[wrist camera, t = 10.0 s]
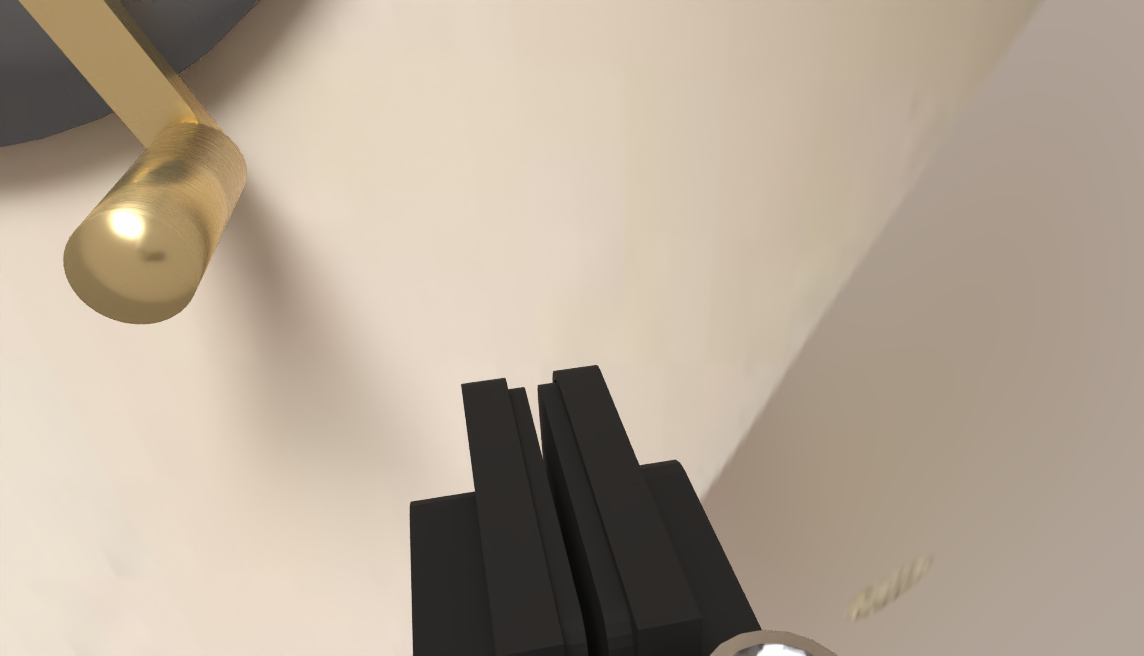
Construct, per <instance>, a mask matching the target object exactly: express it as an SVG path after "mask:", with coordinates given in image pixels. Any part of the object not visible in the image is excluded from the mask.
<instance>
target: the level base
mask: <svg viewBox="0 0 1144 656" xmlns="http://www.w3.org/2000/svg"><path fill="white" fill-rule="evenodd" d="M258 1H259V0H119V2H120V3H121V4H122V5H123V7H124V8H125V9H126V10H127V12H128V13H129V14H130V16H131V17H132V18H133V19H134V21H135V22H136V23H137V24H138V26H139V27H140V28H141V29H142V31H143V32H144V33H145V34H146V36H147V37H148V38H149V39H150V41H151V42H152V43H153V45H154V46H155V47H156V48H157V50H158V51H159V52H160V53H161V55H162V56H163V57H164V58H165V60H166V61H167V62H168V63H169V65H170V66H171V67H172V68H173V70H174V71H175V72H176V74H179V73H180V72H181V71H183V70H184V69H185V68H187V67H188V66H189V65H191V64H192V63H194V62H195V61H196V60H198V59H199V58H200V57H202V56H203V55H204V54H206V53H207V52H208V51H209V50H210V49H211V48H212V47H213V46H214V45H215V44H216V43H217V42H218V41H219V40H220V39H221V38H222V37H223V36H224V35H225V34H226V33H227V32H228V31H229V30H230V29H231V28H232V27H233V26H234V25H235V24H236V23H237V22H238V21H239V20H240V19H241V18H242V17H243V16H244V15H245V14H246V13H247V12H248V11H249V10H250V9H251V8H252V7H253V6H254V5H255V4H256V3H257V2H258ZM112 112H114V111H113V110H112V109H111V107H110V106H109V105H108V104H107V103H106V102H105V100H104V99H103V98H102V97H101V96H100V95H99V93H98V92H97V91H96V90H95V89H94V88H93V86H92V85H91V84H90V83H89V82H88V81H87V79H86V78H85V77H84V76H83V75H82V74H81V72H80V71H79V70H78V69H77V68H76V67H75V65H74V64H73V63H72V62H71V61H70V60H69V58H68V57H67V56H66V55H65V54H64V53H63V52H62V50H61V49H60V48H59V47H58V46H57V45H56V43H55V42H54V41H53V40H52V39H51V38H50V36H49V35H48V34H47V33H46V32H45V31H44V29H43V28H42V27H41V26H40V25H39V24H38V22H37V21H36V20H35V19H34V18H33V17H32V15H31V14H30V13H29V12H28V11H27V10H26V8H25V7H24V6H23V5H22V4H21V3H20V1H19V0H0V147H4V146H9V145H13V144H18V143H23V142H28V141H33V140H38V139H43V138H45V137H48V136H51V135H54V134H57V133H60V132H63V131H65V130H68V129H71V128H74V127H77V126H80V125H83V124H85V123H88V122H91V121H94V120H97V119H100V118H102V117H104V116H106V115H108V114H110V113H112Z"/></svg>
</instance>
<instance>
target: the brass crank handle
mask: <svg viewBox="0 0 1144 656" xmlns="http://www.w3.org/2000/svg"><path fill="white" fill-rule="evenodd" d="M19 1H20V3H21V4H22V5H23V6H24V7H25V8H26V10H27V11H28V12H29V13H30V14H31V15H32V17H33V18H34V19H35V20H36V21H37V22H38V24H39V25H40V26H41V27H42V28H43V29H44V31H45V32H46V33H47V34H48V35H49V36H50V38H51V39H52V40H53V41H54V42H55V43H56V45H57V46H58V47H59V48H60V49H61V50H62V52H63V53H64V54H65V55H66V56H67V57H68V58H69V60H70V61H71V62H72V63H73V64H74V65H75V67H76V68H77V69H78V70H79V71H80V72H81V74H82V75H83V76H84V77H85V78H86V79H87V81H88V82H89V83H90V84H91V85H92V86H93V88H94V89H95V90H96V91H97V92H98V93H99V95H100V96H101V97H102V98H103V99H104V100H105V102H106V103H107V104H108V105H109V106H110V107H111V109H112V110H113V111H114V112H115V113H116V114H117V116H118V117H119V118H120V119H121V120H122V121H123V123H124V124H125V125H126V126H127V127H128V128H129V129H130V131H131V132H132V133H133V134H134V135H135V136H136V138H137V139H138V140H139V141H140V142H141V143H142V145H143V146H144V147H145V148H146V150H145V151H144V153H143V154H142V155H141V156H140V157H139V158H138V159H137V160H136V162H135V163H134V164H133V165H132V166H131V167H130V168H129V170H128V171H127V172H126V173H125V174H124V175H123V176H122V178H121V179H120V180H119V181H118V182H117V183H116V184H115V186H114V187H113V188H112V189H111V190H110V191H109V192H108V194H107V195H106V196H105V197H104V198H103V199H102V200H101V202H100V203H99V204H98V205H97V206H96V207H95V208H94V210H93V211H92V212H91V213H90V214H89V215H88V216H87V218H86V219H85V220H84V221H83V222H82V223H81V224H80V226H79V227H78V228H77V229H76V230H75V231H74V233H73V234H72V235H71V237H70V238H69V240H68V242H67V244H66V247H65V251H64V258H63V260H64V269H65V274H66V277H67V279H68V282H69V284H70V285H71V287H72V289H73V290H74V292H75V293H76V294H77V296H78V297H79V298H80V299H81V300H82V301H83V302H84V303H85V304H87V305H88V306H89V307H90V308H92V309H93V310H95V311H96V312H98V313H100V314H102V315H103V316H106V317H108V318H110V319H113V320H116V321H120V322H124V323H130V324H151V323H157V322H161V321H164V320H167V319H169V318H171V317H173V316H175V315H176V314H178V313H179V312H181V311H182V310H183V309H184V308H185V307H186V306H187V305H188V304H189V302H190V301H191V299H192V298H193V296H194V294H195V292H196V290H197V287H198V285H199V283H200V281H201V279H202V277H203V275H204V272H205V270H206V268H207V266H208V264H209V262H210V260H211V257H212V255H213V253H214V251H215V249H216V247H217V245H218V242H219V240H220V238H221V236H222V234H223V232H224V230H225V228H226V225H227V223H228V221H229V219H230V217H231V215H232V213H233V210H234V208H235V206H236V204H237V202H238V200H239V198H240V195H241V193H242V191H243V189H244V186H245V183H246V179H247V169H246V164H245V160H244V158H243V155H242V153H241V151H240V150H239V148H238V147H237V145H236V144H235V143H234V142H233V141H232V140H231V139H230V138H229V137H228V136H226V135H225V134H224V133H223V131H222V130H221V129H220V128H219V126H218V125H217V124H216V123H215V121H214V120H213V119H212V118H211V116H210V115H209V114H208V113H207V111H206V110H205V109H204V108H203V106H202V105H201V104H200V102H199V101H198V100H197V99H196V97H195V96H194V95H193V94H192V92H191V91H190V90H189V89H188V87H187V86H186V85H185V84H184V82H183V81H182V80H181V79H180V77H179V76H178V75H177V74H176V72H175V71H174V70H173V68H172V67H171V66H170V65H169V63H168V62H167V61H166V60H165V58H164V57H163V56H162V55H161V53H160V52H159V51H158V50H157V48H156V47H155V46H154V45H153V43H152V42H151V41H150V39H149V38H148V37H147V36H146V34H145V33H144V32H143V31H142V29H141V28H140V27H139V26H138V24H137V23H136V22H135V21H134V19H133V18H132V17H131V16H130V14H129V13H128V12H127V10H126V9H125V8H124V7H123V5H122V4H121V3H120V2H119V0H19Z"/></svg>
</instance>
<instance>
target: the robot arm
mask: <svg viewBox="0 0 1144 656" xmlns="http://www.w3.org/2000/svg"><path fill="white" fill-rule="evenodd" d="M461 387H462V395H463V403H464V410H465V418H466V426H467V433H468V441H469V449H470V456H471V464H472V472H473V479H474V487H475V492H469V493H463V494H457V495H450V496H444V497H438V498H431V499H425V500H419V501H413V502H411V503H410V547H411V589H412V631H413V656H837V655H836V654H835V653H834V652H832V651H830V650H829V649H827V648H826V647H824V646H822V645H821V644H819V643H817V642H815V641H814V640H812V639H809V638H806V637H803V636H800V635H797V634H794V633H790V632H785V631H773V630H762V629H761V627H760V625H759V623H758V621H757V619H756V617H755V615H754V613H753V611H752V609H751V607H750V605H749V602H748V600H747V598H746V596H745V594H744V592H743V590H742V588H741V586H740V584H739V582H738V580H737V578H736V576H735V574H734V571H733V570H732V567H731V565H730V563H729V561H728V559H727V557H726V555H725V553H724V551H723V549H722V546H721V545H720V542H719V540H718V538H717V536H716V534H715V532H714V530H713V528H712V526H711V524H710V522H709V520H708V517H707V515H706V513H705V511H704V509H703V507H702V505H701V503H700V501H699V499H698V497H697V495H696V493H695V491H694V488H693V486H692V484H691V482H690V480H689V478H688V476H687V474H686V472H685V470H684V469H683V467H682V465H681V464H680V462H678V461H677V460H670V461H664V462H658V463H651V464H645V465H639V463H638V461H637V458H636V456H635V453H634V451H633V448H632V446H631V444H630V441H629V439H628V436H627V434H626V431H625V429H624V427H623V424H622V422H621V419H620V417H619V414H618V412H617V410H616V407H615V405H614V402H613V400H612V397H611V395H610V393H609V390H608V388H607V385H606V383H605V380H604V378H603V376H602V373H601V371H600V369H599V367H598V366H597V365H593V366H586V367H578V368H571V369H564V370H557V371H553V383H549V384H542V385H538V403H539V416H540V428H541V440H542V453H543V458H542V454H541V450H540V446H539V442H538V438H537V434H536V430H535V426H534V422H533V418H532V414H531V410H530V406H529V402H528V398H527V394H526V391H525V388H524V387H521V388H514V389H508V387H507V382H506V379H505V378H500V379H493V380H486V381H479V382H472V383H465V384H461Z"/></svg>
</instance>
